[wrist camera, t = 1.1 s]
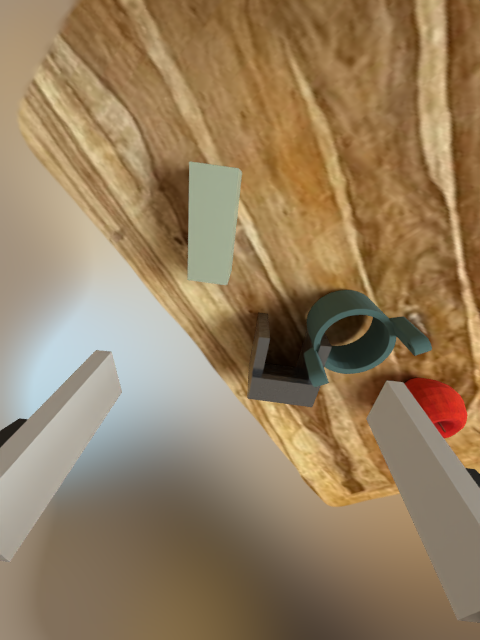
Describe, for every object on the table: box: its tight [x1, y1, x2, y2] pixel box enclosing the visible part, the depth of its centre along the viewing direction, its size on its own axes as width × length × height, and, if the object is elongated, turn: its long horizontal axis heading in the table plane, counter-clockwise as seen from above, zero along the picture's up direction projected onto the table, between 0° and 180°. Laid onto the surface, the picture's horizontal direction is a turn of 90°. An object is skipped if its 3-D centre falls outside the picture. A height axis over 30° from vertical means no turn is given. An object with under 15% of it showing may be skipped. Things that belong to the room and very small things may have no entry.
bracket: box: [304, 290, 432, 387], centre depth 26 cm, size 9×9×9 cm
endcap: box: [247, 313, 332, 407], centre depth 30 cm, size 9×8×7 cm
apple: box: [404, 378, 467, 438], centre depth 32 cm, size 8×8×7 cm
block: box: [188, 162, 242, 285], centre depth 24 cm, size 10×4×5 cm, turn 173°
